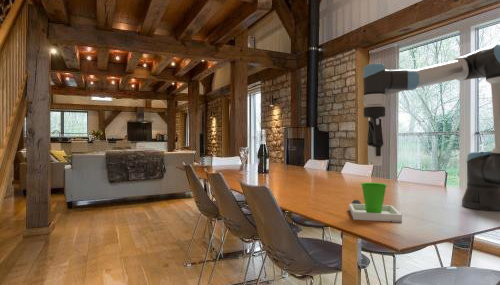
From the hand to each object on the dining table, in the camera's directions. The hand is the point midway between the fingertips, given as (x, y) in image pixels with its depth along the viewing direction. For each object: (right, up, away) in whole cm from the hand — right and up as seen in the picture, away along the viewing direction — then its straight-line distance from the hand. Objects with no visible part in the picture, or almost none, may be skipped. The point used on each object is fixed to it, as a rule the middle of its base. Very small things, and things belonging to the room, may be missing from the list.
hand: (374, 164), depth 121 cm
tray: (0, -19, 0) cm, 19 cm away
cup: (0, -19, 0) cm, 19 cm away
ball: (-3, -19, +12) cm, 23 cm away
